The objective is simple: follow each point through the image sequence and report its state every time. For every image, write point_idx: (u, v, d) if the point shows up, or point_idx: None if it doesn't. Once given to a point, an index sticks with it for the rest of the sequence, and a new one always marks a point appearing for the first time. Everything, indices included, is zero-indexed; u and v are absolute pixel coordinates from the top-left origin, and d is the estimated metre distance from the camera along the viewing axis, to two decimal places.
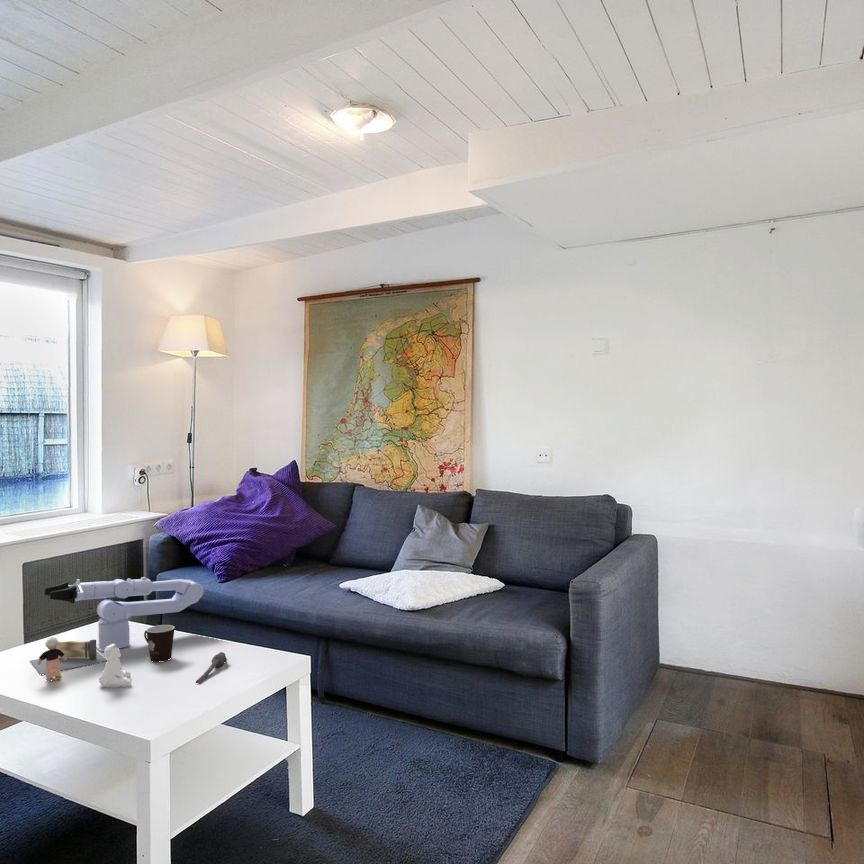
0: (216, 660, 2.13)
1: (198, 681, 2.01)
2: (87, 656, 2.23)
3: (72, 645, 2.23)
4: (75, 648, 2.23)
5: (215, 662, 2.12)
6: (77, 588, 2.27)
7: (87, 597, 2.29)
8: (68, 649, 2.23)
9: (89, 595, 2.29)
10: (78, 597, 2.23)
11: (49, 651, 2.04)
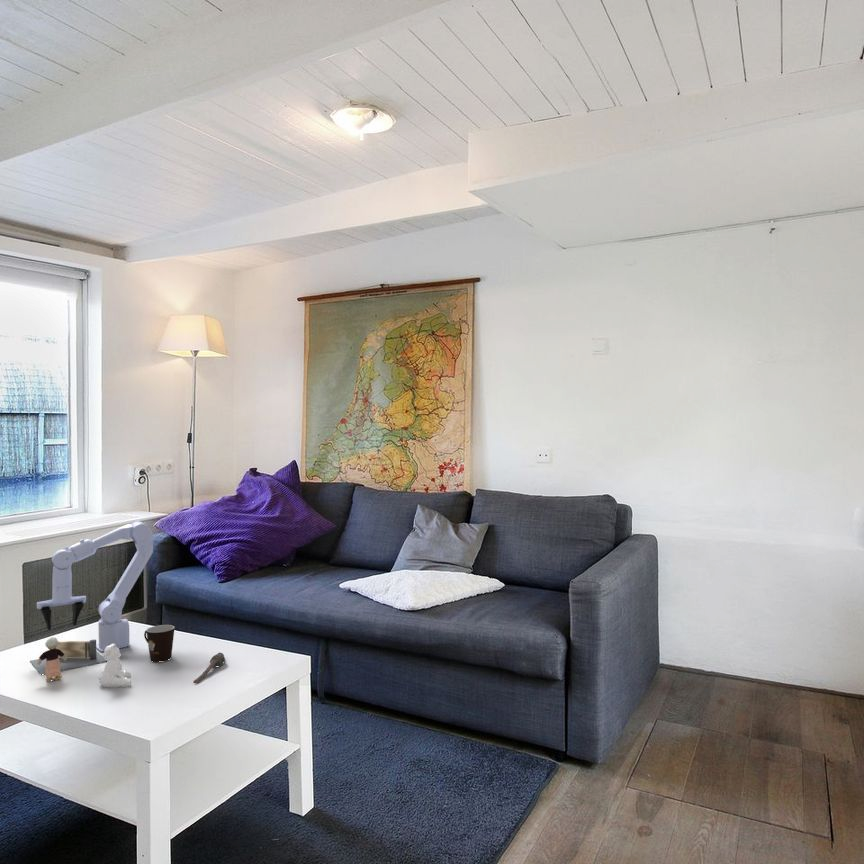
0: (214, 660, 2.13)
1: (195, 682, 2.01)
2: (87, 656, 2.23)
3: (72, 645, 2.23)
4: (75, 648, 2.23)
5: (213, 662, 2.12)
6: None
7: (56, 593, 2.25)
8: (68, 649, 2.23)
9: (54, 592, 2.25)
10: (37, 608, 2.23)
11: (49, 651, 2.04)
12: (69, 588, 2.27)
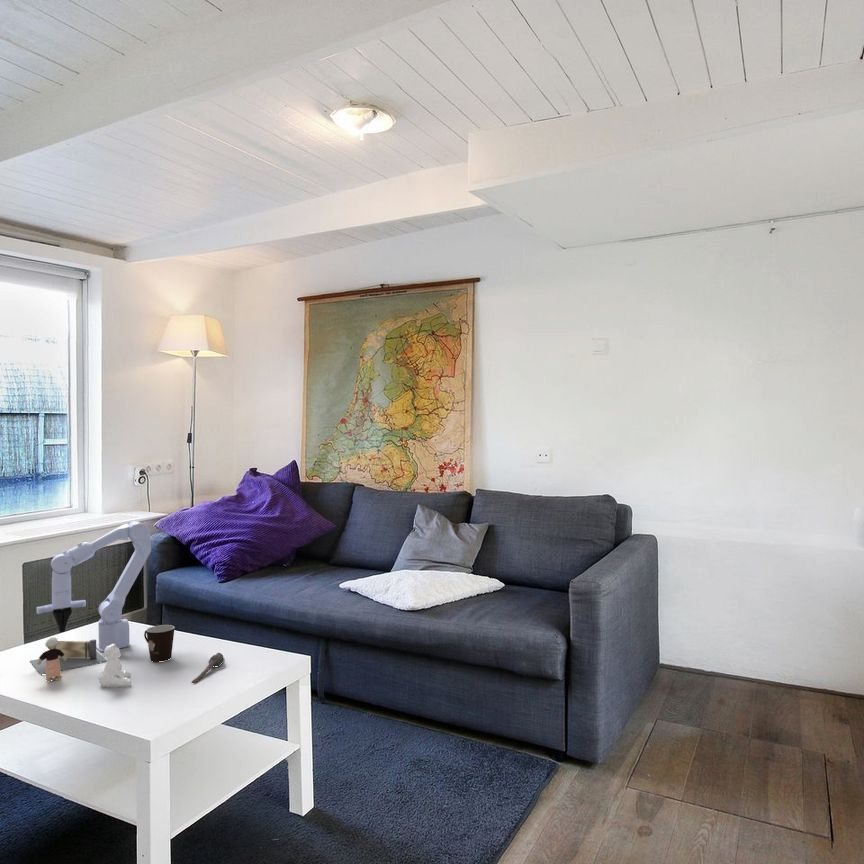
0: (213, 661, 2.13)
1: (193, 682, 2.01)
2: (87, 656, 2.23)
3: (72, 645, 2.23)
4: (75, 648, 2.23)
5: (212, 663, 2.12)
6: None
7: (55, 598, 2.25)
8: (68, 649, 2.23)
9: (53, 597, 2.25)
10: (37, 612, 2.23)
11: (49, 651, 2.04)
12: (68, 592, 2.27)
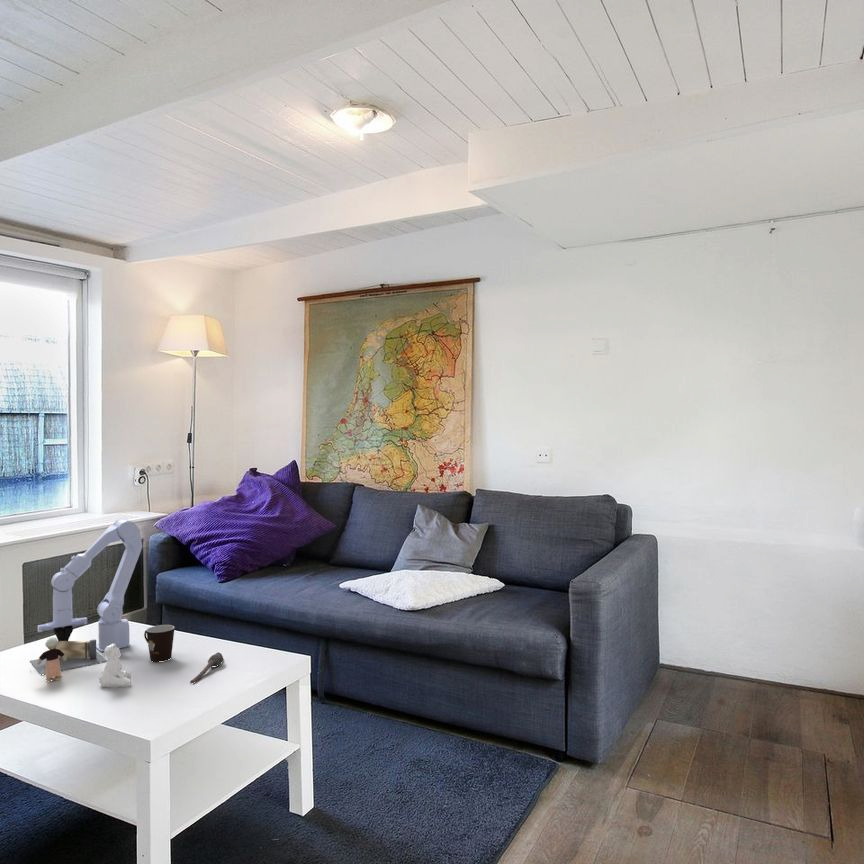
0: (212, 660, 2.13)
1: (192, 682, 2.01)
2: (87, 656, 2.23)
3: (72, 645, 2.23)
4: (75, 648, 2.23)
5: (211, 662, 2.12)
6: None
7: (56, 616, 2.24)
8: (68, 649, 2.23)
9: (54, 615, 2.24)
10: (38, 631, 2.22)
11: (49, 651, 2.04)
12: (70, 610, 2.26)
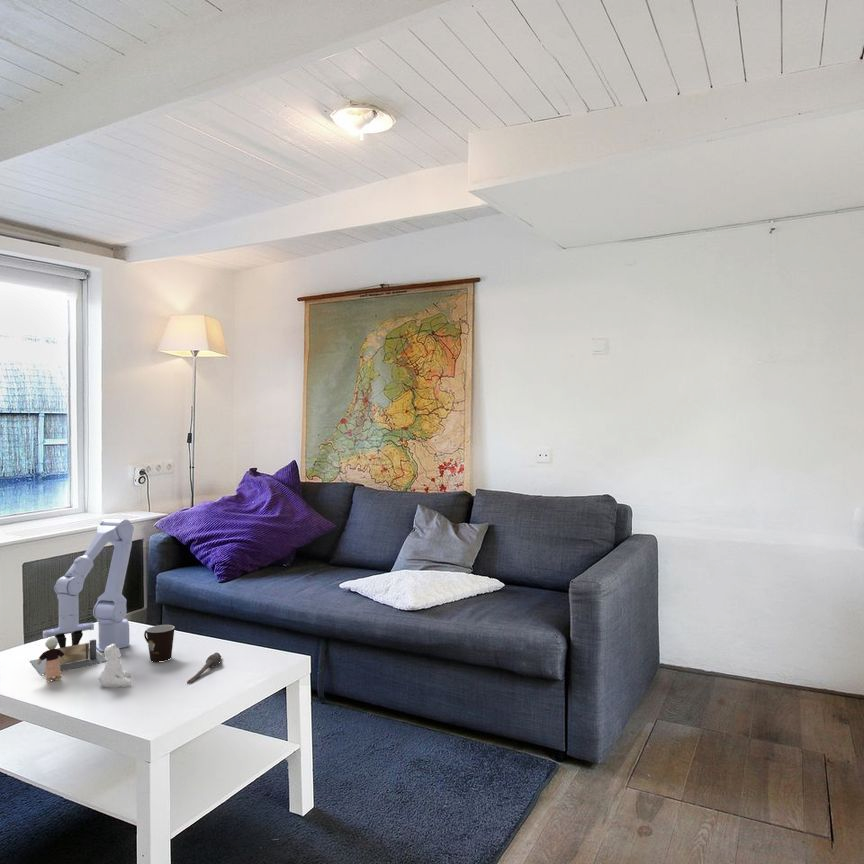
0: (210, 660, 2.13)
1: (189, 682, 2.01)
2: (88, 657, 2.21)
3: (71, 650, 2.18)
4: (74, 652, 2.19)
5: (209, 662, 2.12)
6: None
7: (62, 622, 2.18)
8: (66, 655, 2.17)
9: (60, 620, 2.18)
10: (43, 637, 2.15)
11: (49, 651, 2.04)
12: (76, 616, 2.20)
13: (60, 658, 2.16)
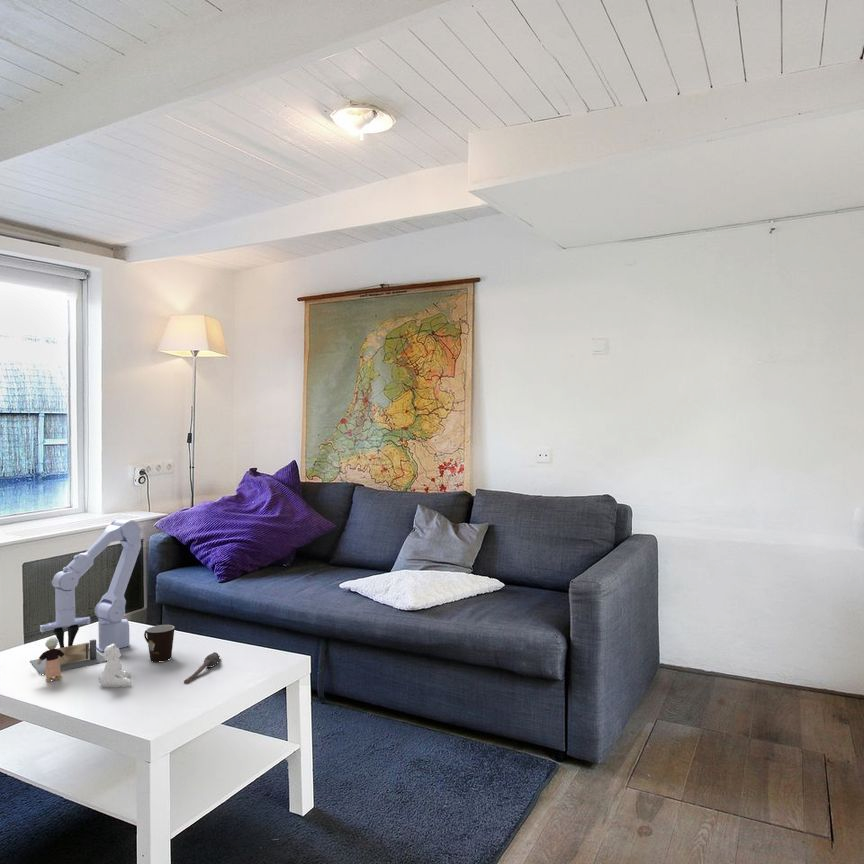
0: (208, 660, 2.13)
1: (186, 681, 2.01)
2: (88, 657, 2.21)
3: (71, 650, 2.18)
4: (74, 652, 2.19)
5: (206, 662, 2.12)
6: None
7: (59, 616, 2.21)
8: (66, 655, 2.17)
9: (57, 614, 2.21)
10: (41, 631, 2.19)
11: (49, 651, 2.04)
12: (72, 610, 2.23)
13: (60, 658, 2.16)
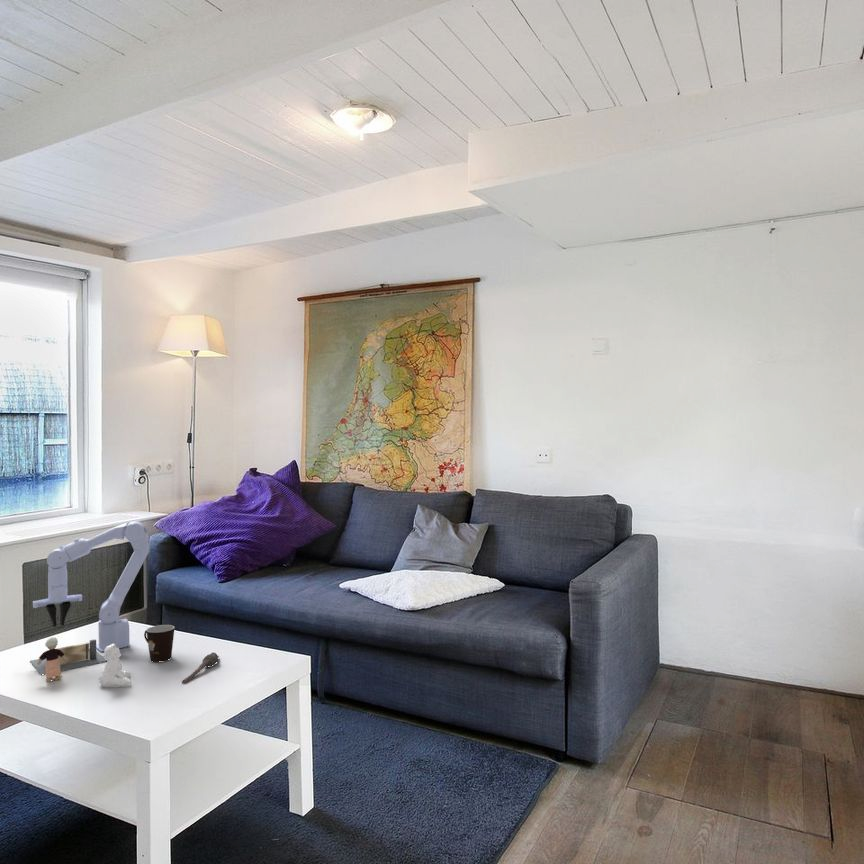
0: (206, 660, 2.13)
1: (184, 682, 2.01)
2: (88, 657, 2.21)
3: (71, 650, 2.18)
4: (74, 652, 2.19)
5: (205, 662, 2.12)
6: None
7: (51, 592, 2.27)
8: (66, 655, 2.17)
9: (49, 591, 2.27)
10: (33, 607, 2.25)
11: (49, 651, 2.04)
12: (65, 587, 2.29)
13: (60, 658, 2.16)
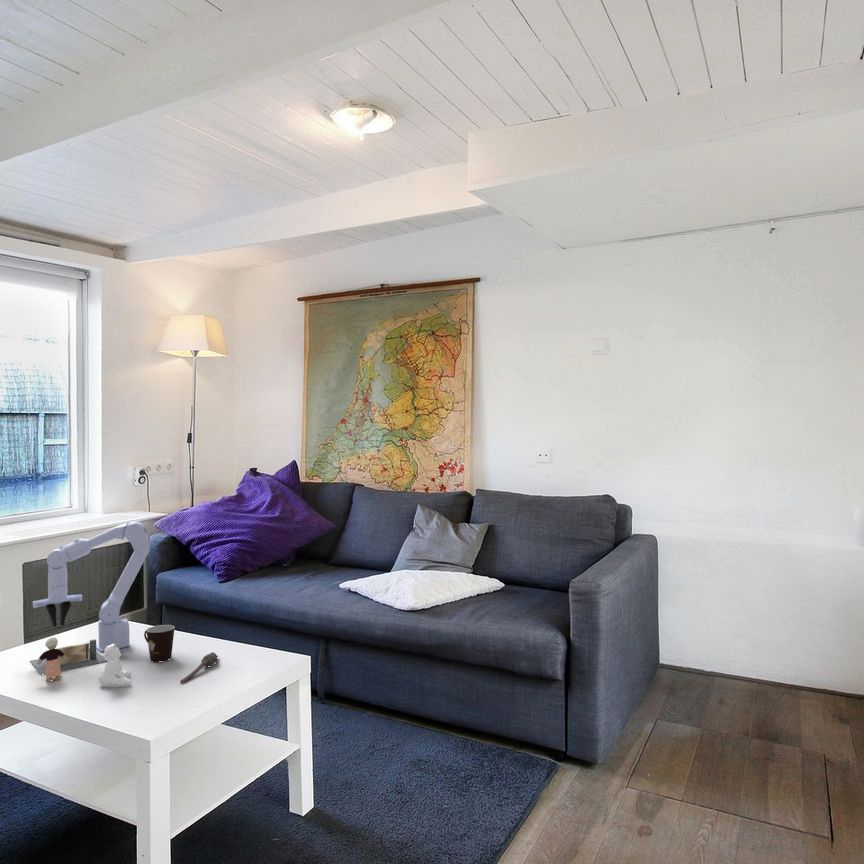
0: (205, 660, 2.13)
1: (182, 681, 2.01)
2: (88, 657, 2.21)
3: (71, 650, 2.18)
4: (74, 652, 2.19)
5: (204, 662, 2.12)
6: None
7: (51, 592, 2.27)
8: (66, 655, 2.17)
9: (49, 591, 2.27)
10: (33, 607, 2.25)
11: (49, 651, 2.04)
12: (65, 587, 2.29)
13: (60, 658, 2.16)
